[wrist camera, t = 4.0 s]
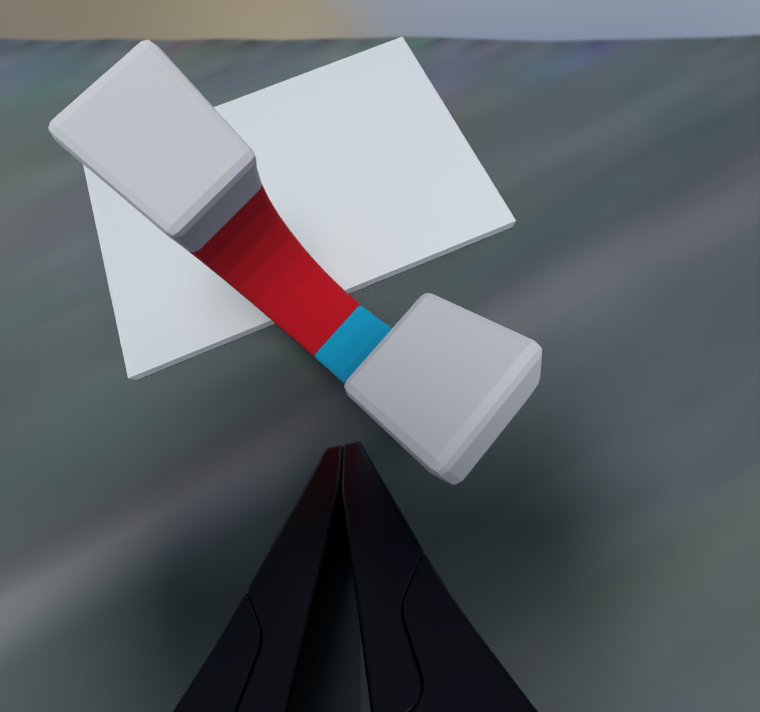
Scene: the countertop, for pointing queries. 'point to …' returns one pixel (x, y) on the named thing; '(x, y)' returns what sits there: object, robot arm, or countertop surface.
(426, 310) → the magnet
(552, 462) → the countertop surface
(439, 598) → the robot arm
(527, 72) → the countertop surface
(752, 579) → the countertop surface
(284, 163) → the white paper sheet
